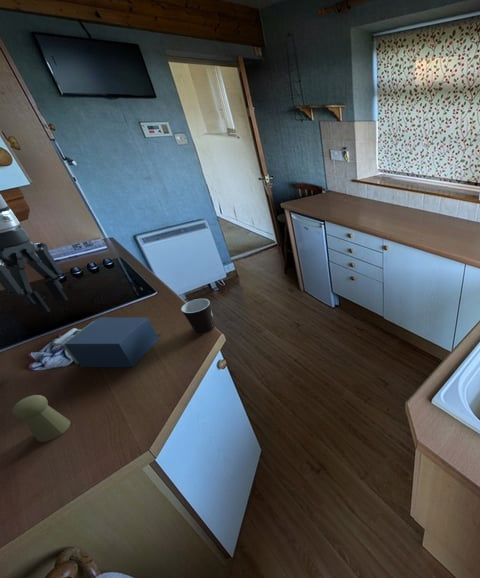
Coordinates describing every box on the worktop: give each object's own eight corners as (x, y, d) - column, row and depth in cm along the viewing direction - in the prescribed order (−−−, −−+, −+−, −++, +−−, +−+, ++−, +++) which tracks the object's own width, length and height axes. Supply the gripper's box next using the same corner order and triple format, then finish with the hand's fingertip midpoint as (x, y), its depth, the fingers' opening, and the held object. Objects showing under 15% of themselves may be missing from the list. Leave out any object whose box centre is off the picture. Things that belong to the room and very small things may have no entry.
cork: (33, 432, 71) (3, 404, 66) (66, 415, 76) (40, 386, 70) (40, 447, 69) (8, 418, 63) (73, 427, 73) (47, 398, 67)
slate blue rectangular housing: (81, 367, 89) (63, 343, 84) (113, 339, 100) (99, 317, 95) (133, 367, 90) (118, 343, 85) (159, 339, 101) (147, 317, 95)
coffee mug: (213, 334, 103) (204, 311, 98) (187, 336, 102) (176, 313, 97) (223, 315, 113) (215, 293, 108) (199, 316, 112) (190, 295, 106)
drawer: (56, 363, 89) (41, 344, 85) (88, 338, 99) (75, 320, 95) (124, 363, 90) (112, 344, 86) (148, 338, 99) (139, 320, 95)
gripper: (-28, 243, 65) (36, 325, 77) (49, 217, 80) (92, 289, 93) (-63, 243, 65) (7, 325, 77) (21, 217, 80) (68, 289, 92)
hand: (53, 305), depth 85 cm, fingers open, 5 cm apart
